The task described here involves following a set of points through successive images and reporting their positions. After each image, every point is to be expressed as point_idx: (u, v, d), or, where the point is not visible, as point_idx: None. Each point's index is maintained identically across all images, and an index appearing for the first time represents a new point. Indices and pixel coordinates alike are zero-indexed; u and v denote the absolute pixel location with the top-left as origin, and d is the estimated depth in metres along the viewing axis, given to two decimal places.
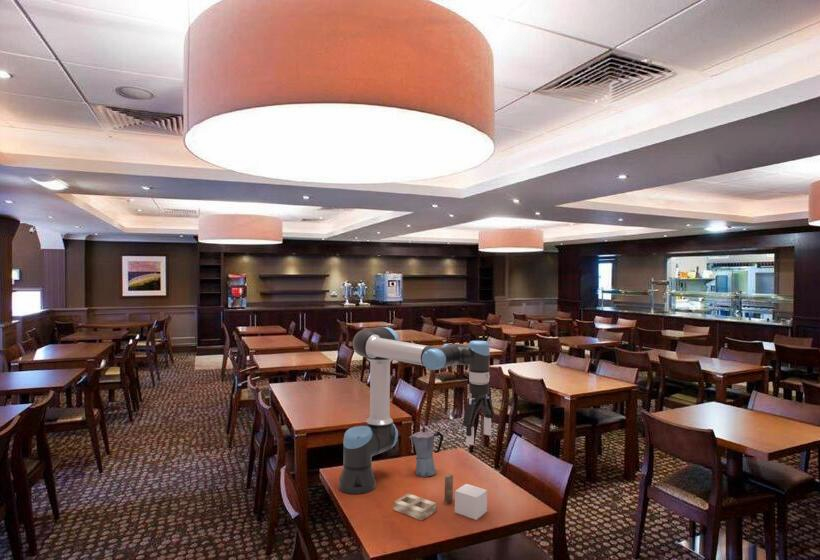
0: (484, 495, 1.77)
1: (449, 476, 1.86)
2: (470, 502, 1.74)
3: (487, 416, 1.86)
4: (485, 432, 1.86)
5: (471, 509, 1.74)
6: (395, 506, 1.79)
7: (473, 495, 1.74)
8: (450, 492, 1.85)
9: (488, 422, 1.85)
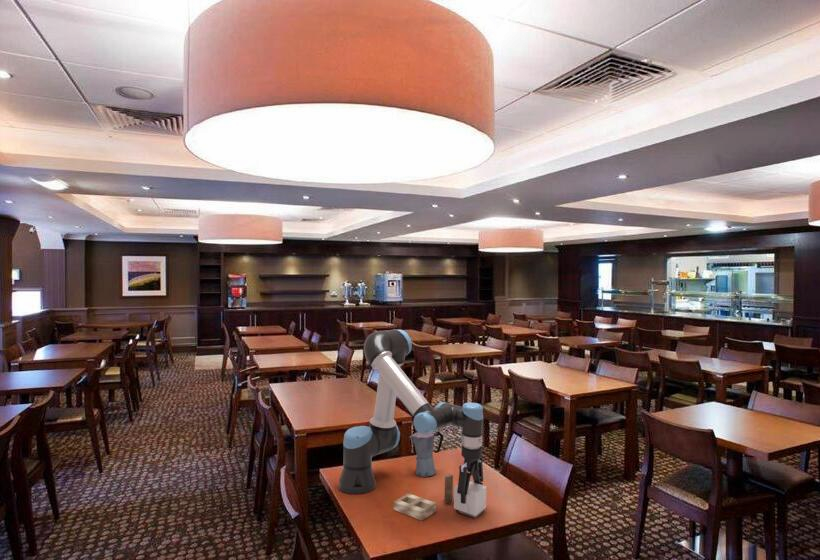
0: (483, 491, 1.78)
1: (449, 476, 1.86)
2: (469, 498, 1.74)
3: None
4: None
5: (470, 505, 1.74)
6: (395, 506, 1.79)
7: (473, 492, 1.74)
8: (450, 492, 1.85)
9: None
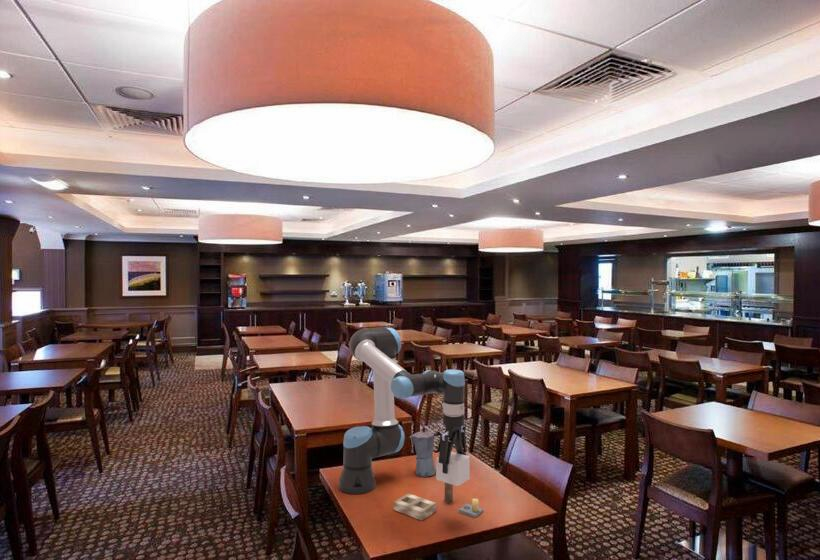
0: (466, 461, 1.70)
1: None
2: (451, 467, 1.67)
3: None
4: None
5: (453, 475, 1.67)
6: (395, 506, 1.79)
7: (455, 461, 1.67)
8: (450, 492, 1.85)
9: None
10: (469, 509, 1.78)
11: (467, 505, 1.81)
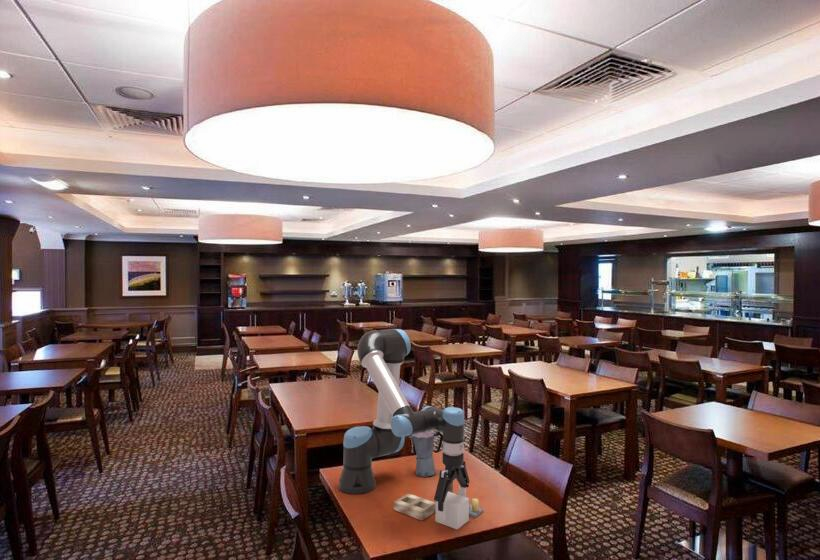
0: (466, 503, 1.71)
1: None
2: (450, 510, 1.67)
3: (462, 485, 1.78)
4: None
5: (452, 518, 1.67)
6: (395, 506, 1.79)
7: (454, 504, 1.67)
8: None
9: (463, 492, 1.77)
10: (469, 509, 1.78)
11: None
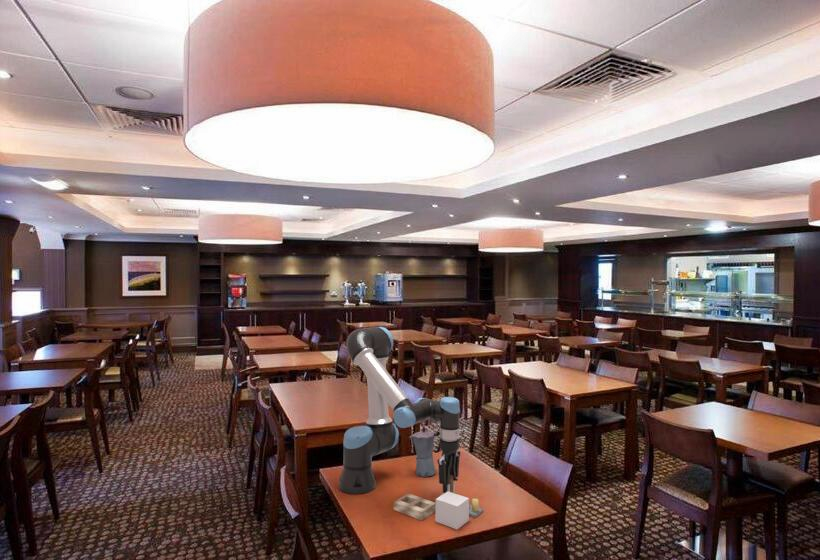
0: (466, 503, 1.71)
1: (449, 476, 1.86)
2: (450, 510, 1.67)
3: None
4: None
5: (452, 518, 1.67)
6: (395, 506, 1.79)
7: (454, 504, 1.67)
8: None
9: None
10: (469, 509, 1.78)
11: None
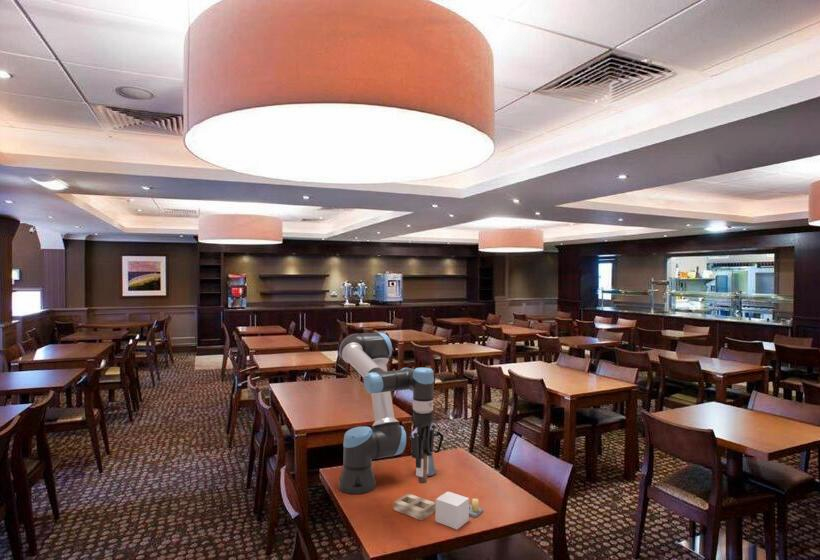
0: (466, 503, 1.71)
1: (423, 455, 1.77)
2: (450, 510, 1.67)
3: None
4: None
5: (452, 518, 1.67)
6: (395, 506, 1.79)
7: (454, 504, 1.67)
8: (424, 472, 1.76)
9: None
10: (469, 509, 1.78)
11: None
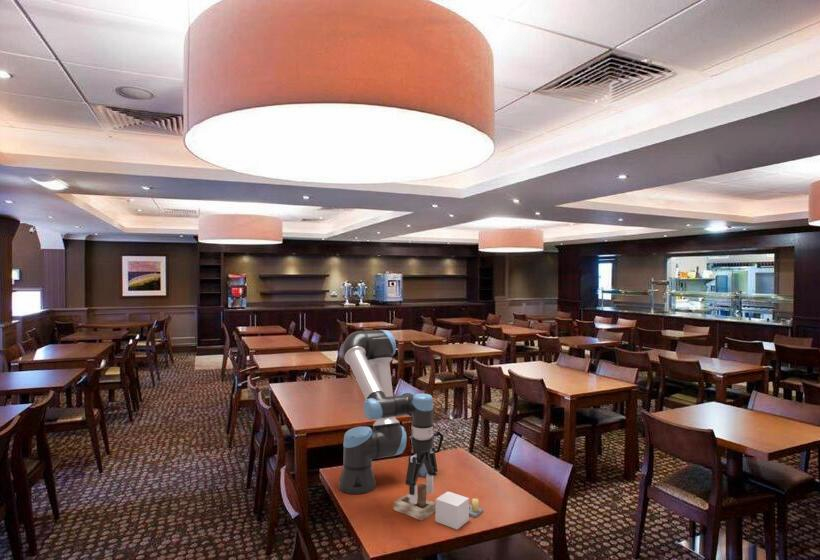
0: (466, 503, 1.71)
1: (422, 486, 1.77)
2: (450, 510, 1.67)
3: (430, 473, 1.82)
4: (427, 490, 1.82)
5: (452, 518, 1.67)
6: (395, 506, 1.79)
7: (454, 504, 1.67)
8: (423, 503, 1.76)
9: (430, 480, 1.81)
10: (469, 509, 1.78)
11: None
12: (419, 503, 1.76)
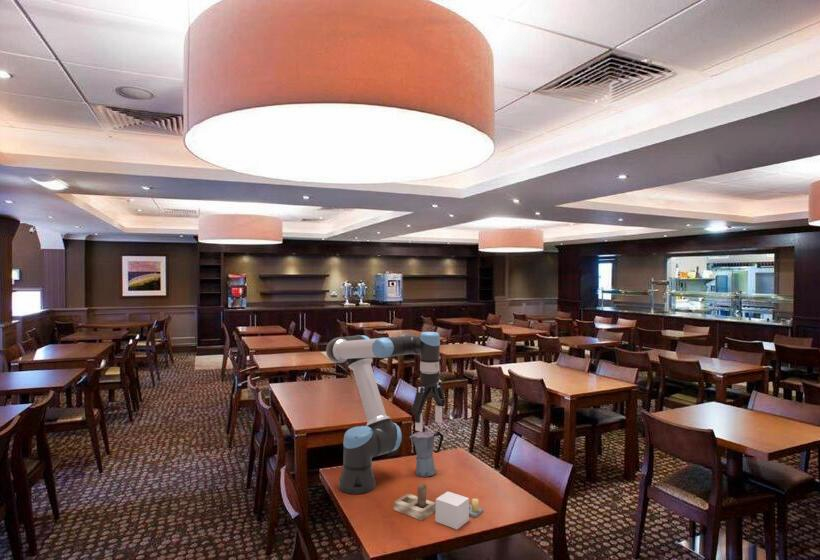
0: (466, 503, 1.71)
1: (422, 486, 1.77)
2: (450, 510, 1.67)
3: (438, 404, 1.93)
4: (436, 420, 1.93)
5: (452, 518, 1.67)
6: (395, 506, 1.79)
7: (454, 504, 1.67)
8: (423, 503, 1.76)
9: (439, 410, 1.92)
10: (469, 509, 1.78)
11: None
12: (419, 503, 1.76)
